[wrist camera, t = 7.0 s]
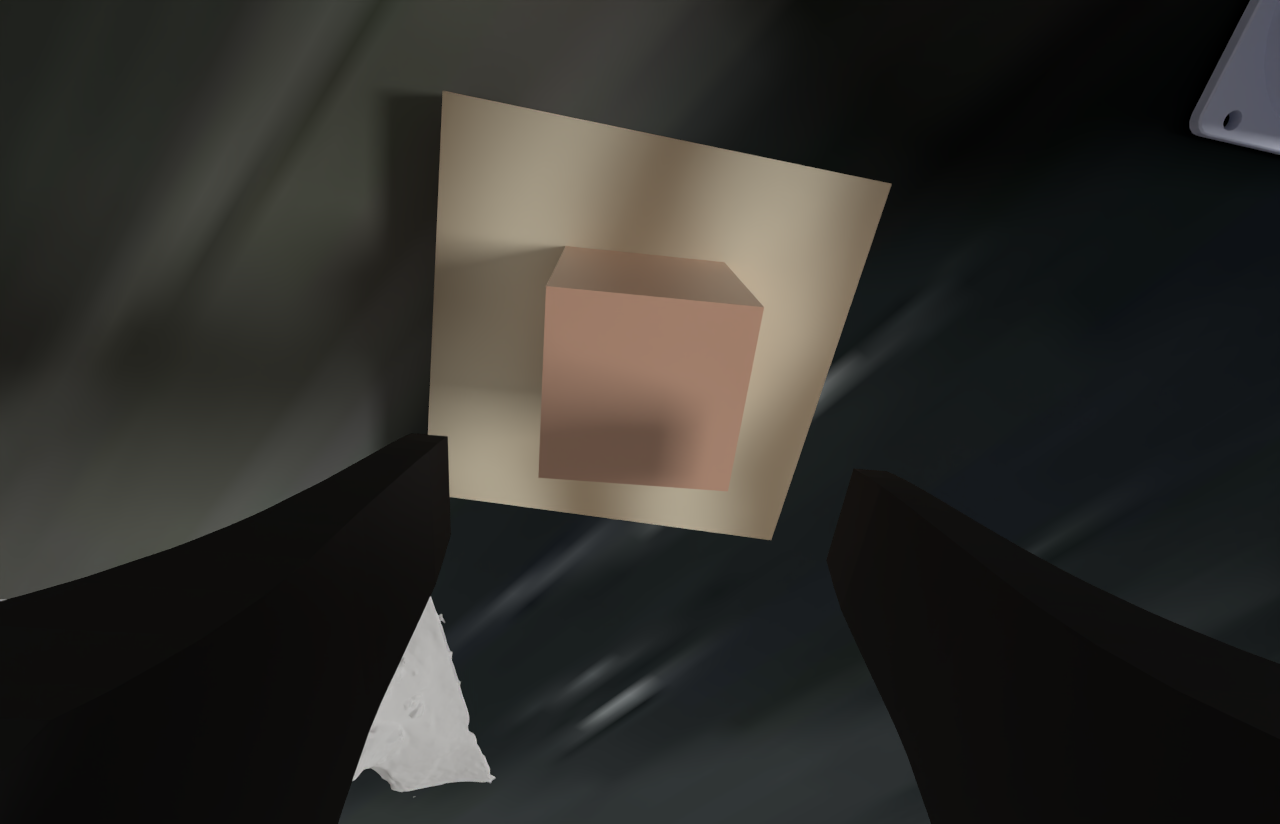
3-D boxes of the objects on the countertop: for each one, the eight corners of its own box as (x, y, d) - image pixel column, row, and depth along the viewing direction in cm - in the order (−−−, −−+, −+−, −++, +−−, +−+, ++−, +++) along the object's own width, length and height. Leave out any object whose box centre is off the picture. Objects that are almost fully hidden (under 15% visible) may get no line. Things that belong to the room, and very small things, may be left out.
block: (724, 262, 17) (764, 307, 12) (700, 405, 19) (727, 491, 14) (565, 245, 16) (545, 286, 12) (557, 393, 18) (538, 477, 14)
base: (861, 179, 18) (891, 183, 16) (757, 505, 23) (771, 540, 21) (463, 96, 17) (442, 90, 15) (442, 461, 22) (425, 493, 20)
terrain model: (-103, 585, 25) (-270, 683, 21) (399, 490, 23) (337, 577, 18) (118, 820, 32) (30, 934, 27) (524, 765, 30) (501, 879, 25)
